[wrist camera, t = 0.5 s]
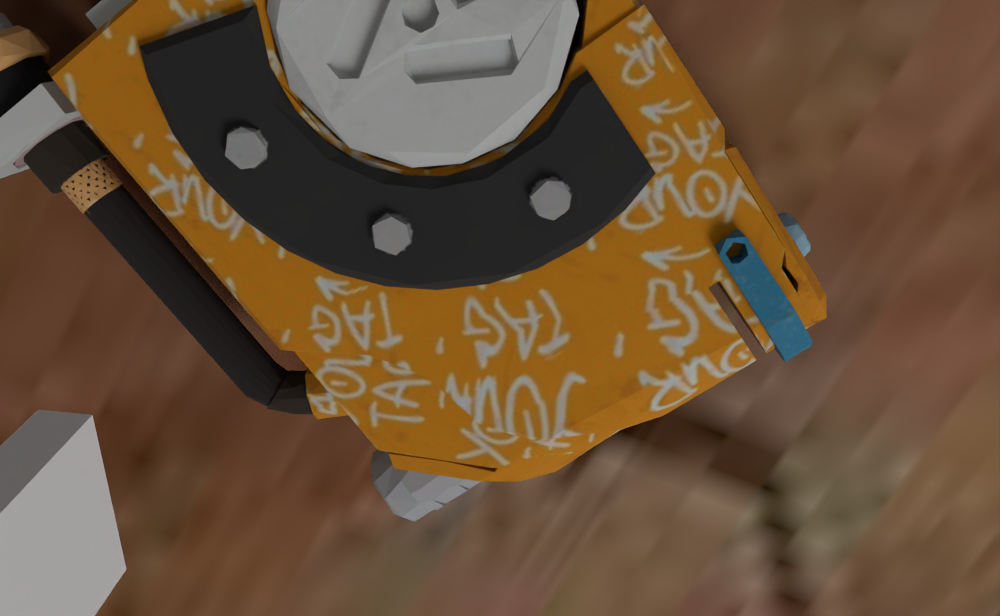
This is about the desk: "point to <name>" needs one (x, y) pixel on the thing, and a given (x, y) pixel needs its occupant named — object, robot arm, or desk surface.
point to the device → (424, 214)
